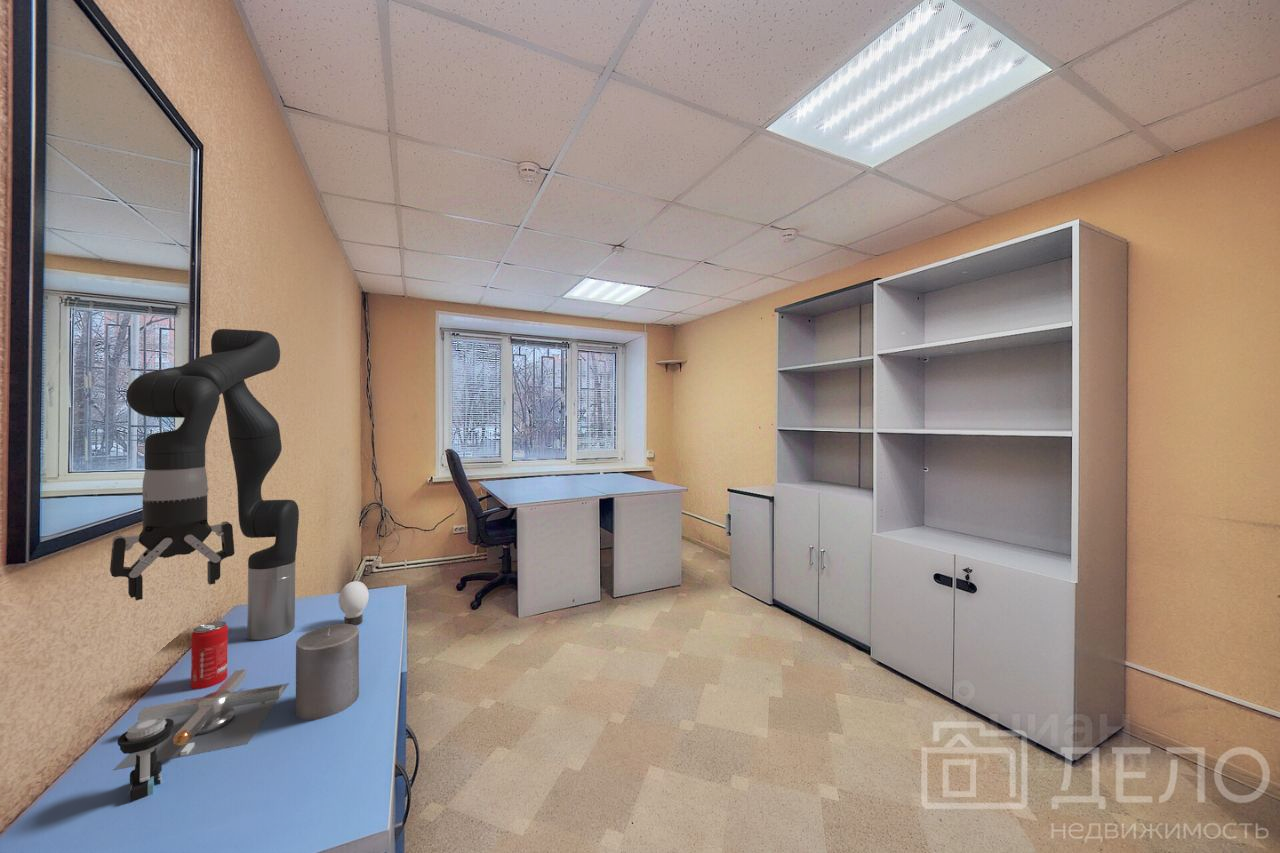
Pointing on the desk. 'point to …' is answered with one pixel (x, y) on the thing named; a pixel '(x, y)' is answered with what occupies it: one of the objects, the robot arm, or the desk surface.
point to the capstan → (211, 708)
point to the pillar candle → (327, 671)
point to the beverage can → (209, 654)
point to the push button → (145, 753)
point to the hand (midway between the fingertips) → (176, 590)
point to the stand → (226, 737)
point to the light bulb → (353, 602)
